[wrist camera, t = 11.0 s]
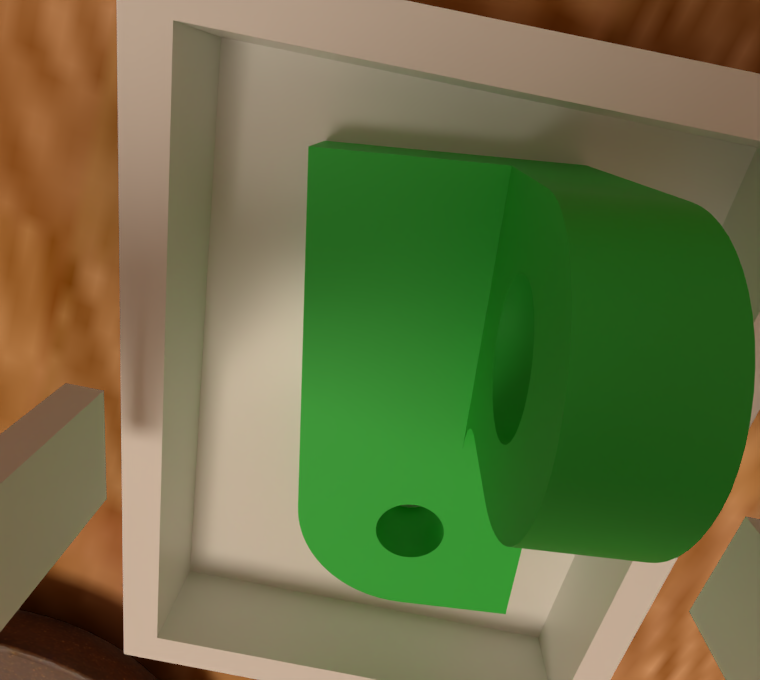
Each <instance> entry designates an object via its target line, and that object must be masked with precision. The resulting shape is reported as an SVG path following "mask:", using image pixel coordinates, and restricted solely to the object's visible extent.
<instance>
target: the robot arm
mask: <svg viewBox="0 0 760 680" xmlns="http://www.w3.org/2000/svg"><path fill="white" fill-rule="evenodd" d="M106 499H107V498H106V460H105V421H104V391H103V390H98V389H93V388H87V387H82V386H77V385H72V384H67V383H65V384H64V385H63V386H61V387H60V388H59V389H58V390H56V391H55V392H54V393H52V394H51V395H50V396H49V397H47V398H46V399H45V400H44V401H42V402H41V403H40V404H38V405H37V406H36V407H35V408H33V409H32V410H31V411H29V412H28V413H27V414H26V415H24V416H23V417H22V418H20V419H19V420H18V421H17V422H15V423H14V424H13V425H12V426H10V427H9V428H8V429H6V430H5V431H4V432H3V433H1V434H0V632H1V631H2V629H3V628H4V627H5V626H6V624H7V623H8V622H9V621H10V619H11V618H12V617H13V615H14V614H15V613H16V612H17V610H18V609H19V608H20V607H21V605H22V604H23V603H24V602H25V600H26V599H27V598H28V597H29V595H30V594H31V593H32V592H33V590H34V589H35V588H36V587H37V585H38V584H39V583H40V582H41V580H42V579H43V578H44V577H45V575H46V574H47V573H48V572H49V570H50V569H51V568H52V567H53V565H54V564H55V563H56V562H57V560H58V559H59V558H60V557H61V555H62V554H63V553H64V551H65V550H66V549H67V548H68V546H69V545H70V544H71V543H72V541H73V540H74V539H75V538H76V536H77V535H78V534H79V533H80V531H81V530H82V529H83V528H84V526H85V525H86V524H87V523H88V521H89V520H90V519H91V518H92V516H93V515H94V514H95V513H96V511H97V510H98V509H99V508H100V506H101V505H102V504H103V503H104V501H105V500H106ZM689 612H690V614H691V616H692V618H693V620H694V621H695V623H696V625H697V627H698V629H699V631H700V633H701V635H702V636H703V638H704V640H705V642H706V644H707V646H708V648H709V649H710V651H711V653H712V655H713V657H714V659H715V661H716V663H717V664H718V666H719V668H720V670H721V672H722V674H723V676H724V677H725V679H726V680H760V519H756V518H751V517H745V519H744V520H743V522H742V524H741V525H740V527H739V529H738V530H737V532H736V534H735V535H734V537H733V539H732V540H731V542H730V544H729V545H728V547H727V549H726V550H725V552H724V554H723V555H722V557H721V559H720V561H719V562H718V564H717V566H716V567H715V569H714V571H713V572H712V574H711V576H710V577H709V579H708V581H707V582H706V584H705V586H704V587H703V589H702V591H701V592H700V594H699V596H698V597H697V599H696V601H695V602H694V604H693V606H692V607H691V609H690V611H689Z"/></svg>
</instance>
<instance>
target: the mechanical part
mask: <svg viewBox="0 0 760 680" xmlns="http://www.w3.org/2000/svg"><path fill="white" fill-rule="evenodd" d="M754 383H755V334H754V323H753V313H752V307H751V302H750V296H749V290H748V287H747V283H746V279H745V275H744V271H743V268H742V266H741V263H740V260H739V257H738V255H737V252H736V250H735V248H734V246H733V244H732V242H731V240H730V238H729V236H728V235H727V233H726V232H725V230H724V229H723V227H722V226H721V224H720V223H719V222H718V221H717V220H716V219H715V217H714V216H713V215H712V214H711V213H709V212H708V211H707V210H705V209H704V208H703V207H701V206H699V205H697V204H695V203H693V202H690V201H687V200H685V199H682V198H679V197H676V196H673V195H670V194H667V193H664V192H662V191H659V190H656V189H653V188H650V187H647V186H644V185H641V184H639V183H636V182H633V181H630V180H627V179H624V178H621V177H618V176H616V175H613V174H610V173H607V172H604V171H601V170H598V169H595V168H593V167H590V166H587V165H578V164H567V163H557V162H546V161H536V160H525V159H514V158H504V157H493V156H482V155H472V154H461V153H450V152H440V151H429V150H419V149H408V148H397V147H387V146H376V145H365V144H355V143H344V142H333V141H322V142H319V143H317V144H314V145H311V146H308V177H307V212H306V246H305V281H304V316H303V350H302V385H301V419H300V454H299V488H298V518H299V524H300V528H301V531H302V535H303V537H304V539H305V541H306V544H307V545H308V547H309V549H310V551H311V552H312V554H313V555H314V556H315V558H316V559H317V560H318V561H319V562H320V563H321V565H322V566H323V567H324V568H325V569H326V570H328V571H329V572H330V573H331V574H332V575H333V576H335V577H336V578H338V579H339V580H340V581H342V582H344V583H345V584H347V585H348V586H350V587H352V588H354V589H356V590H358V591H361V592H363V593H366V594H368V595H371V596H374V597H378V598H382V599H386V600H391V601H397V602H405V603H413V604H422V605H430V606H439V607H448V608H456V609H465V610H473V611H482V612H490V613H499V614H506V610H507V606H508V602H509V598H510V594H511V590H512V586H513V582H514V578H515V574H516V570H517V566H518V562H519V558H520V554H521V550H522V548H523V549H531V550H540V551H549V552H558V553H567V554H575V555H584V556H593V557H602V558H611V559H620V560H628V561H637V562H646V563H661V562H666V561H669V560H672V559H674V558H677V557H679V556H680V555H682V554H683V553H685V552H686V551H688V550H689V549H690V548H691V547H693V546H694V545H695V544H696V543H697V542H698V541H699V540H700V539H701V538H702V537H703V535H704V534H705V533H706V532H707V531H708V529H709V528H710V527H711V525H712V524H713V522H714V521H715V519H716V518H717V516H718V515H719V513H720V511H721V510H722V508H723V506H724V504H725V502H726V500H727V498H728V496H729V494H730V492H731V489H732V487H733V484H734V481H735V478H736V476H737V473H738V470H739V467H740V463H741V460H742V456H743V452H744V449H745V445H746V440H747V435H748V430H749V425H750V420H751V412H752V404H753V396H754ZM400 505H418V506H420V507H412V508H410V507H403V506H400Z"/></svg>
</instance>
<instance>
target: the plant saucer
mask: <svg viewBox="0 0 760 680" xmlns="http://www.w3.org/2000/svg"><path fill="white" fill-rule="evenodd" d="M0 680H158V679H157V678H155V677H154V676H153V675H152V674H151V673H150V672H149V671H148V670H147V669H146V668H145V667H143V666H142V665H141V664H140V663H139V662H137V661H136V660H135V659H133V658H132V657H131V656H129V655H126V654H124V652H123V651H122V650H120V649H119V648H117V647H116V646H114V645H112V644H111V643H109V642H107V641H105V640H103V639H102V638H100V637H98V636H96V635H94V634H92V633H90V632H87V631H85V630H83V629H80V628H78V627H76V626H73V625H71V624H68V623H66V622H63V621H60V620H56V619H53V618H50V617H47V616H43V615H39V614H35V613H31V612H27V611H22V610H17V612H16V613H15V614H14V615H13V617H12V618H11V619H10V621H9V622H8V623H7V624H6V626H5V627H4V628H3V629H2V631H1V632H0Z"/></svg>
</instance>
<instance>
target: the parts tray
mask: <svg viewBox="0 0 760 680" xmlns="http://www.w3.org/2000/svg"><path fill="white" fill-rule="evenodd" d="M117 85H118V176H119V268H120V359H121V450H122V541H123V632H124V654H126V655H131V656H137V657H142V658H147V659H152V660H158V661H163V662H168V663H174V664H179V665H184V666H189V667H195V668H200V669H205V670H211V671H216V672H221V673H226V674H232V675H237V676H242V677H247V678H253V679H258V680H610V679H611V678H612V676H613V674H614V672H615V670H616V668H617V667H618V665H619V663H620V661H621V659H622V658H623V656H624V654H625V652H626V650H627V649H628V647H629V645H630V643H631V641H632V640H633V638H634V636H635V634H636V632H637V630H638V629H639V627H640V625H641V623H642V621H643V620H644V618H645V616H646V614H647V612H648V611H649V609H650V607H651V605H652V603H653V601H654V600H655V598H656V596H657V594H658V592H659V591H660V589H661V587H662V585H663V583H664V582H665V580H666V578H667V576H668V574H669V573H670V571H671V569H672V567H673V565H674V563H675V562H676V560H677V558H678V557H677V558H674V559H672V560H669V561H666V562H661V563H646V562H637V561H628V560H620V559H611V558H602V557H593V556H584V555H575V554H567V553H558V552H549V551H540V550H531V549H523V548H522V550H521V554H520V558H519V562H518V566H517V570H516V574H515V578H514V582H513V586H512V590H511V594H510V598H509V602H508V606H507V610H506V614H499V613H490V612H482V611H473V610H465V609H456V608H448V607H439V606H430V605H422V604H413V603H405V602H397V601H391V600H386V599H382V598H378V597H374V596H371V595H368V594H366V593H363V592H361V591H358V590H356V589H354V588H352V587H350V586H348V585H347V584H345V583H344V582H342V581H340V580H339V579H338V578H336V577H335V576H333V575H332V574H331V573H330V572H329V571H328V570H326V569H325V568H324V567H323V566H322V565H321V563H320V562H319V561H318V560H317V559H316V558H315V556H314V555H313V554H312V552H311V551H310V549H309V547H308V545H307V544H306V541H305V539H304V537H303V535H302V531H301V528H300V524H299V518H298V488H299V454H300V419H301V385H302V350H303V316H304V281H305V246H306V212H307V177H308V146H311V145H314V144H317V143H319V142H322V141H333V142H344V143H355V144H365V145H376V146H387V147H397V148H408V149H419V150H429V151H440V152H450V153H461V154H472V155H482V156H493V157H504V158H514V159H525V160H536V161H546V162H557V163H567V164H578V165H587V166H590V167H593V168H595V169H598V170H601V171H604V172H607V173H610V174H613V175H616V176H618V177H621V178H624V179H627V180H630V181H633V182H636V183H639V184H641V185H644V186H647V187H650V188H653V189H656V190H659V191H662V192H664V193H667V194H670V195H673V196H676V197H679V198H682V199H685V200H687V201H690V202H693V203H695V204H697V205H699V206H701V207H703V208H704V209H705V210H707V211H708V212H709V213H711V214H712V215H713V216H714V217H715V219H716V220H717V221H718V222H719V223H720V224H721V226H722V227H723V229H724V230H725V232H726V233H727V235H728V236H729V238H730V240H731V242H732V244H733V246H734V248H735V250H736V252H737V255H738V257H739V260H740V263H741V266H742V268H743V271H744V275H745V279H746V283H747V287H748V290H749V296H750V302H751V307H752V313H753V323H754V334H755V383H754V396H753V404H752V412H751V420H750V425H749V428H750V426H751V424H752V422H753V420H754V419H755V417H756V415H757V413H758V411H759V410H760V74H759V73H754V72H749V71H744V70H739V69H735V68H730V67H725V66H720V65H715V64H711V63H706V62H701V61H696V60H691V59H686V58H682V57H677V56H672V55H667V54H662V53H658V52H653V51H648V50H643V49H638V48H633V47H629V46H624V45H619V44H614V43H609V42H605V41H600V40H595V39H590V38H585V37H580V36H576V35H571V34H566V33H561V32H556V31H552V30H547V29H542V28H537V27H532V26H527V25H523V24H518V23H513V22H508V21H503V20H499V19H494V18H489V17H484V16H479V15H474V14H470V13H465V12H460V11H455V10H450V9H446V8H441V7H436V6H431V5H426V4H421V3H417V2H412V1H407V0H117ZM400 506H403V507H410V508H412V507H420V506H418V505H400Z"/></svg>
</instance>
